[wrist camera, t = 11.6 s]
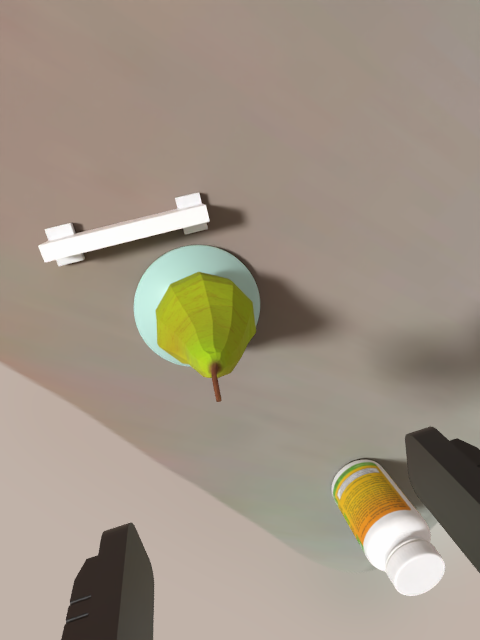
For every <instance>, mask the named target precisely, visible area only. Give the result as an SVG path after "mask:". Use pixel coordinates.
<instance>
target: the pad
mask: <svg viewBox="0 0 480 640" xmlns="http://www.w3.org/2000/svg"><path fill="white" fill-rule="evenodd" d="M197 272H202V273H207V274H211V275H215V276H220V277H224V278H228V279H230V280H231V281H233V282H234V283H235V284H236V286H237V287H238V288H239V289H240V290H241V291H242V292H243V293H244V294H245V295H246V296H247V297H248V298H249V299H250V300H251V301H252V302H253V309H254V317H255V326H256V325H257V322H258V318H259V313H260V297H259V291H258V288H257V285H256V282H255V280H254V278H253V276H252V275H251V273H250V271H249V270H248V269H247V268H246V267H245V265H244V264H243V263H242V262H240V261H239V260H238V259H237V258H236V257H234V256H233V255H232V254H230V253H228V252H226V251H224V250H222V249H219V248H217V247H213V246H208V245H188V246H182V247H179V248H176V249H173V250H171V251H169V252H167V253H165V254H163V255H162V256H160V257H159V258H158V259H157V260H155V261H154V262H153V263H152V264H151V265H150V266H149V267H148V269H147V270H146V271H145V273H144V274H143V276H142V278H141V280H140V282H139V284H138V287H137V290H136V294H135V300H134V315H135V321H136V325H137V328H138V330H139V333H140V335H141V336H142V338H143V340H144V341H145V342H146V344H147V345H148V346H149V347H150V348H151V349H152V350H153V351H154V352H155V353H156V354H158V355H159V356H160V357H162V358H164V359H166V360H167V361H170V362H172V363H175V364H178V365H182V366H189V367H191V366H190V365H189V364H183V363H181V362H180V361H178V360H177V359H175V358H174V357H173V356H171V355H170V354H168V353H167V352H166V351H164V350H163V349H161V348H160V347H159V346H158V344H157V320H156V311H155V310H156V309H157V307H158V305H159V303H160V301H161V300H162V298H163V296H164V294H165V293H166V291H167V289H168V287H169V285H170V284H171V283H174V282H176V281H178V280H181V279H183V278H185V277H187V276H190V275H192V274H194V273H197Z"/></svg>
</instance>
